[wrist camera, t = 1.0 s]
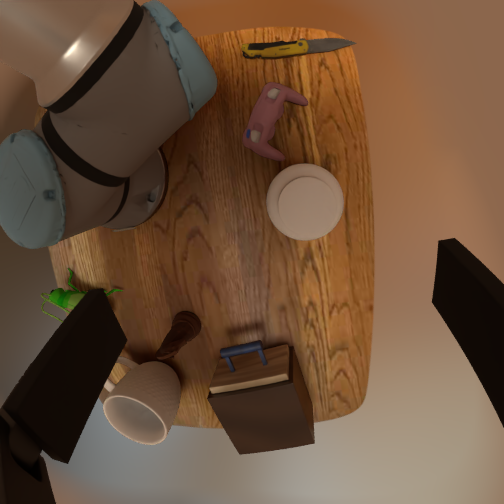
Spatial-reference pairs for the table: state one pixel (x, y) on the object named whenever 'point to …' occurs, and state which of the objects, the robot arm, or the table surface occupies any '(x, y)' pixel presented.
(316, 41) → the utility knife
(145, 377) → the mug
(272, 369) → the drawer
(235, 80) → the table surface
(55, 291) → the toy
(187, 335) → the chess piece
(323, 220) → the pill bottle
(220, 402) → the cabinet
